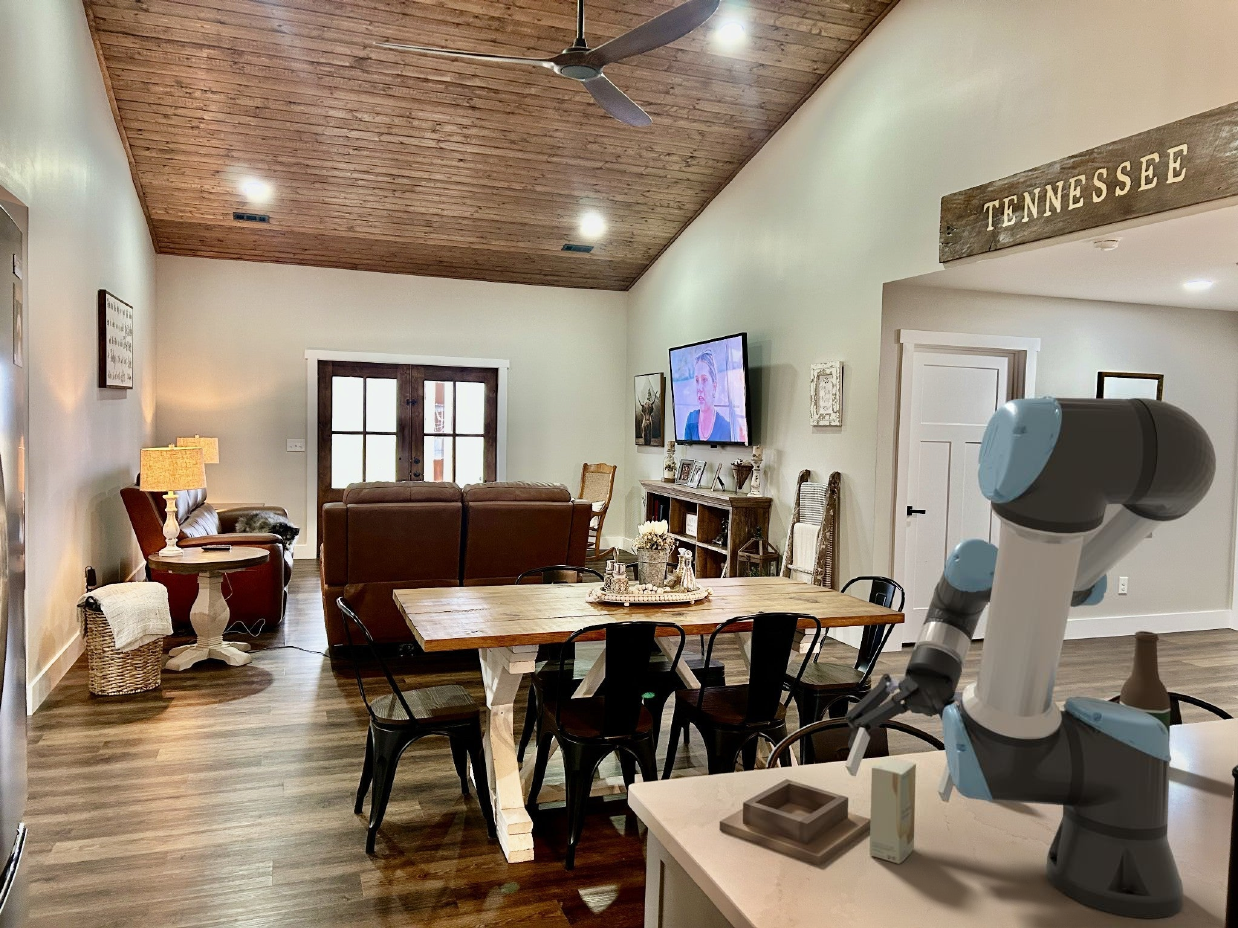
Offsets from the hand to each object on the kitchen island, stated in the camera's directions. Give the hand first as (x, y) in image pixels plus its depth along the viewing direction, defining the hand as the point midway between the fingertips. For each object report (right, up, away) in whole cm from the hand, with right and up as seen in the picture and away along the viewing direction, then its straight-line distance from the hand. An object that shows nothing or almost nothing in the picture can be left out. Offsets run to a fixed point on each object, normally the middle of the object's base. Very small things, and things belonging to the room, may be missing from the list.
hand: (894, 783), depth 121 cm
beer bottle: (+56, -9, +34) cm, 66 cm away
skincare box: (-1, -9, -2) cm, 9 cm away
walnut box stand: (-13, -8, +5) cm, 16 cm away
